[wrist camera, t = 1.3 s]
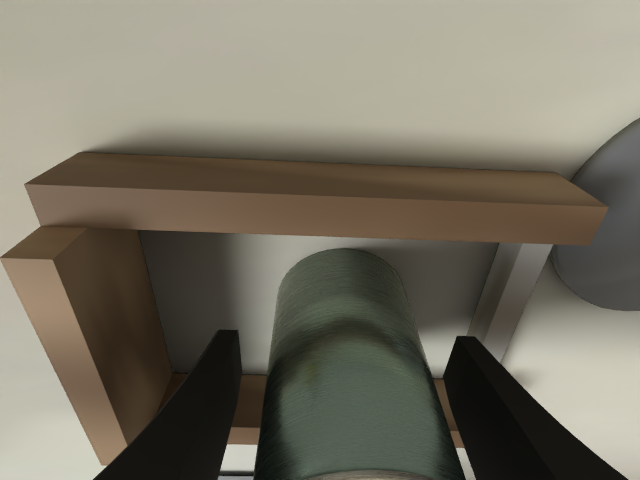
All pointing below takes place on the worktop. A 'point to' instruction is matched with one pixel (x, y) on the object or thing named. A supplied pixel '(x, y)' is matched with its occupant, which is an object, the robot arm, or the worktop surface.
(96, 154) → the frame
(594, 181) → the coaster
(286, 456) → the tin can
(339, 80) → the worktop surface
